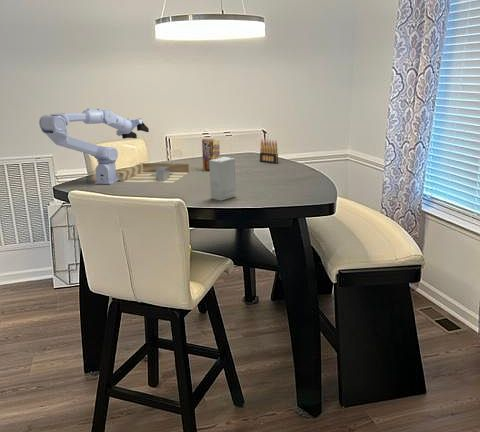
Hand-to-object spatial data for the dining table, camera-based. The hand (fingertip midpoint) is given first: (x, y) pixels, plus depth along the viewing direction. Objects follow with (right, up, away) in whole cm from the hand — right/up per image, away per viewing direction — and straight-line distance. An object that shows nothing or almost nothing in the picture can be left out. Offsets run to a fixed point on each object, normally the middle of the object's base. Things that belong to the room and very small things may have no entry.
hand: (142, 133), depth 237 cm
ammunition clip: (+61, -11, +26) cm, 67 cm away
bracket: (+11, -23, -13) cm, 28 cm away
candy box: (+32, -17, +7) cm, 37 cm away
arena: (+8, -22, -7) cm, 24 cm away
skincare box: (+39, -32, -45) cm, 68 cm away
